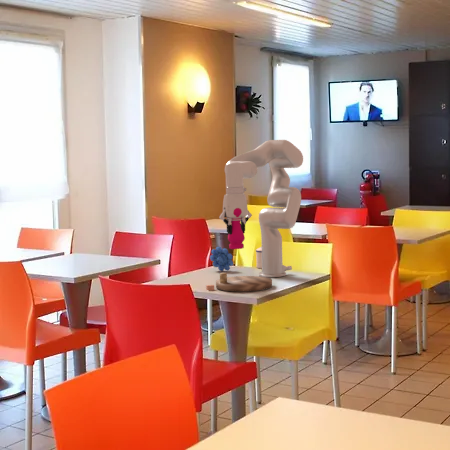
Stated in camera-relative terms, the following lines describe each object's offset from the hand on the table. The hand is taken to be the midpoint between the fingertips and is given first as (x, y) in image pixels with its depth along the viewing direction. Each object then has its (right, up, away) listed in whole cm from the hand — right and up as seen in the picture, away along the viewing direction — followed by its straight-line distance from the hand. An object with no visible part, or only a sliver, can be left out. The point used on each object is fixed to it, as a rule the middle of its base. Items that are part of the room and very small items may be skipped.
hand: (236, 233), depth 341 cm
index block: (-11, -24, -4) cm, 27 cm away
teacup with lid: (+16, -18, +56) cm, 60 cm away
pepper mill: (0, -7, +1) cm, 7 cm away
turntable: (+3, -23, 0) cm, 24 cm away
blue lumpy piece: (-7, -19, +46) cm, 51 cm away
